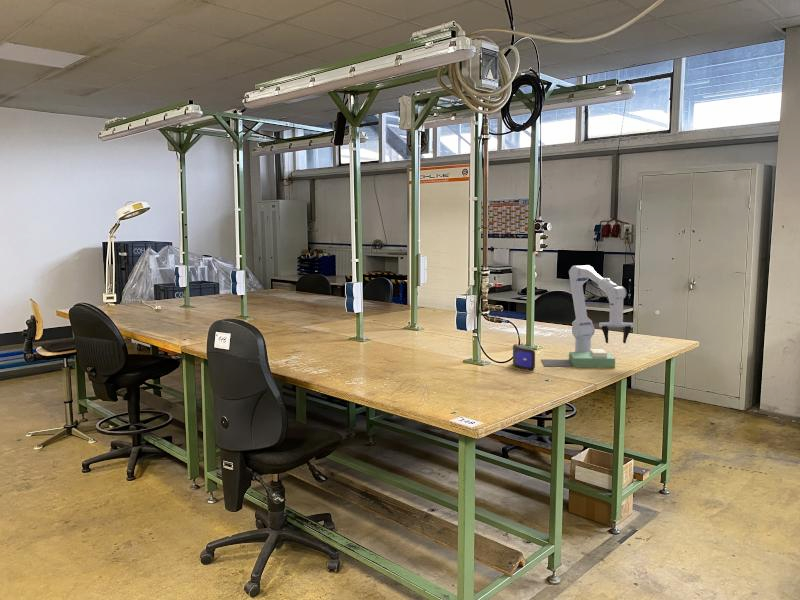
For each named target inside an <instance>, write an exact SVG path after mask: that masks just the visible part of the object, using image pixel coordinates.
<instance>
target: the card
mask: <svg viewBox="0 0 800 600" xmlns="http://www.w3.org/2000/svg"><path fill="white" fill-rule="evenodd" d="M607 352H608V351H606V350H605V349H603V348H591V349H590V354H591V355H592V356H593V357H607Z"/></svg>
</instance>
